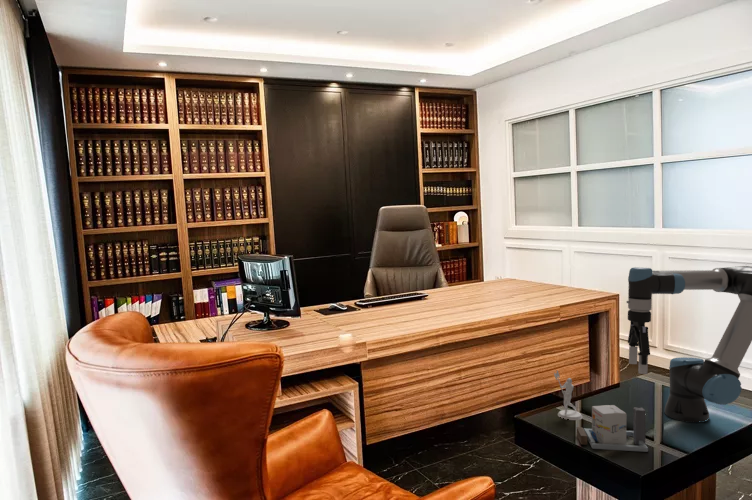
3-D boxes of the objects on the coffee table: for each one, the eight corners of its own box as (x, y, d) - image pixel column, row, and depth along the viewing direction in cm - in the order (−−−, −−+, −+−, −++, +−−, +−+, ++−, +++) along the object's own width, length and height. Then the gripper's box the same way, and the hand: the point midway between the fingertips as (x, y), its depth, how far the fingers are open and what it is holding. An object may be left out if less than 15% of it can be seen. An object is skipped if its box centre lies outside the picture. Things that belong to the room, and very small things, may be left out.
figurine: (552, 412, 210) (552, 369, 210) (573, 410, 212) (573, 367, 211) (565, 421, 201) (565, 375, 200) (587, 419, 202) (587, 373, 202)
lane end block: (582, 435, 187) (582, 427, 186) (587, 444, 179) (587, 436, 179) (576, 435, 187) (576, 427, 187) (581, 444, 179) (581, 435, 179)
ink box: (591, 437, 185) (591, 405, 185) (613, 435, 186) (613, 404, 185) (603, 447, 176) (603, 413, 176) (627, 445, 177) (627, 412, 177)
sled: (637, 434, 186) (637, 402, 185) (650, 451, 172) (650, 416, 171) (583, 432, 189) (583, 400, 189) (592, 448, 175) (592, 413, 175)
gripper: (620, 305, 198) (618, 359, 199) (637, 315, 174) (635, 377, 175) (641, 306, 197) (639, 360, 197) (661, 316, 172) (659, 378, 173)
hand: (637, 368), depth 186 cm, fingers open, 13 cm apart
